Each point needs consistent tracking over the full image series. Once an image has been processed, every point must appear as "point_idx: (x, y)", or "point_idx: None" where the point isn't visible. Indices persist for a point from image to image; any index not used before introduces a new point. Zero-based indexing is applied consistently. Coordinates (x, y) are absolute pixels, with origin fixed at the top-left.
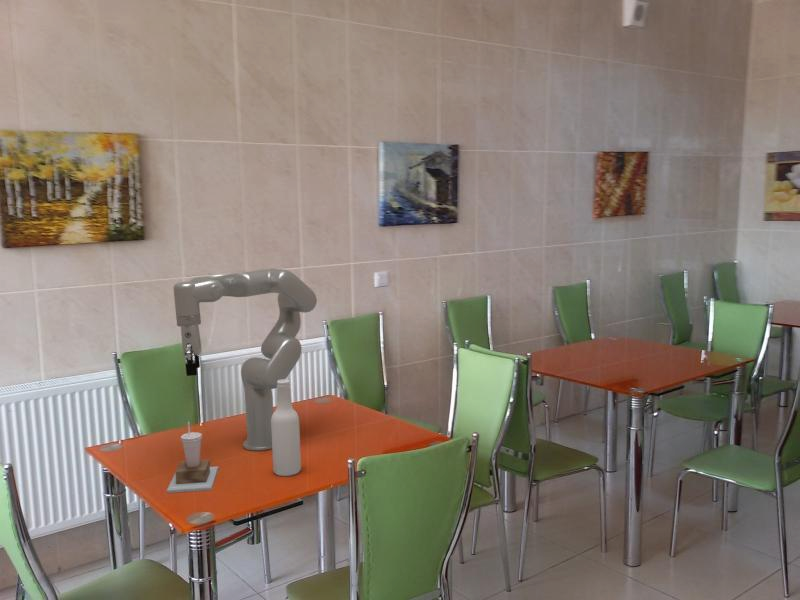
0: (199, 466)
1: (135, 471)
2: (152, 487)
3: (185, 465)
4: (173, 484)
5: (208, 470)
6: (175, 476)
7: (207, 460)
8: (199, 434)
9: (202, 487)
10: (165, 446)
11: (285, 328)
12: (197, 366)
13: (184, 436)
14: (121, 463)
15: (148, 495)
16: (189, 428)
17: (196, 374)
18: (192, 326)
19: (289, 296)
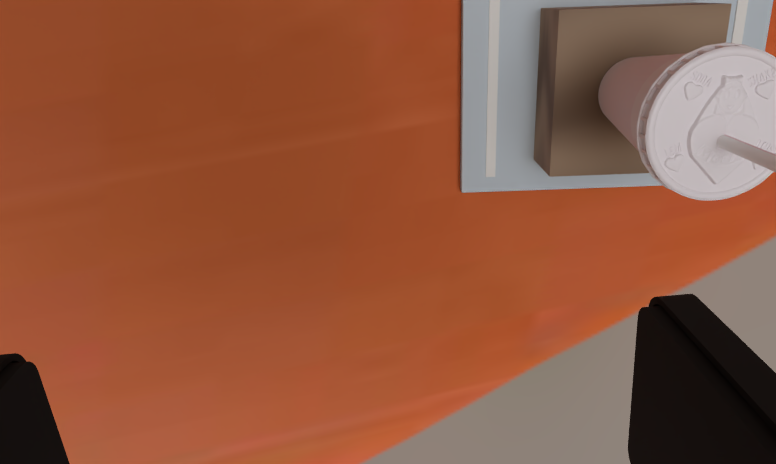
0: (663, 51)
1: (424, 370)
2: (644, 256)
3: (621, 136)
4: None
5: (606, 6)
6: (567, 179)
7: (570, 19)
8: (712, 67)
9: (764, 10)
10: (83, 320)
11: None
12: (28, 404)
13: (726, 174)
14: (312, 447)
15: (735, 252)
16: (759, 149)
17: (688, 298)
18: None
19: None
